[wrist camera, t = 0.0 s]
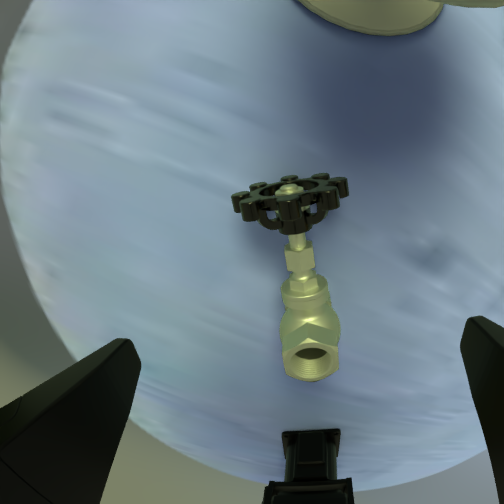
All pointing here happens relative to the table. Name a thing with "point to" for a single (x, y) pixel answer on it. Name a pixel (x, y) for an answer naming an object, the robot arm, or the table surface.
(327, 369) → the valve
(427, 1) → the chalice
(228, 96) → the table surface
